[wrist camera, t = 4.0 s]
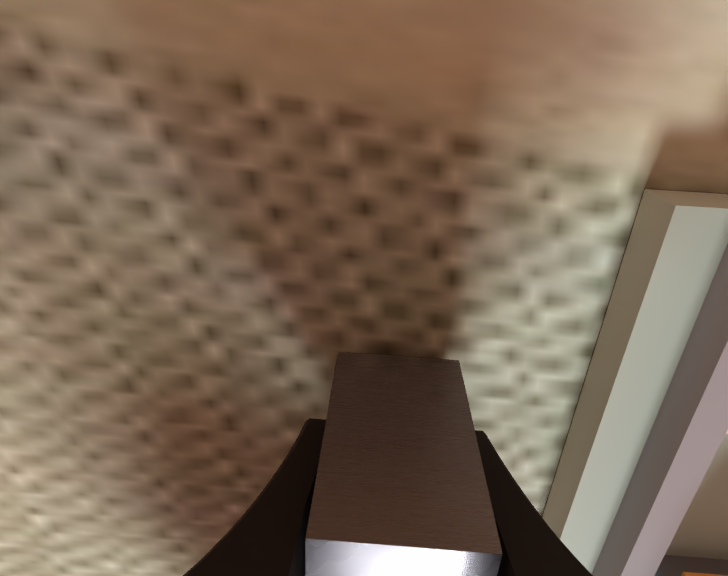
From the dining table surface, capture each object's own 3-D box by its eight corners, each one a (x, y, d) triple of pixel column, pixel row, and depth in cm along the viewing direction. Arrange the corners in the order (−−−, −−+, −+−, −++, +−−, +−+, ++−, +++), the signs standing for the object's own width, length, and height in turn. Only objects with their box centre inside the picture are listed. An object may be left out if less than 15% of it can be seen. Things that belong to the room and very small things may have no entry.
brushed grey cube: (439, 476, 16) (465, 692, 10) (334, 467, 16) (305, 678, 11) (458, 360, 14) (502, 554, 8) (338, 351, 14) (305, 538, 9)
